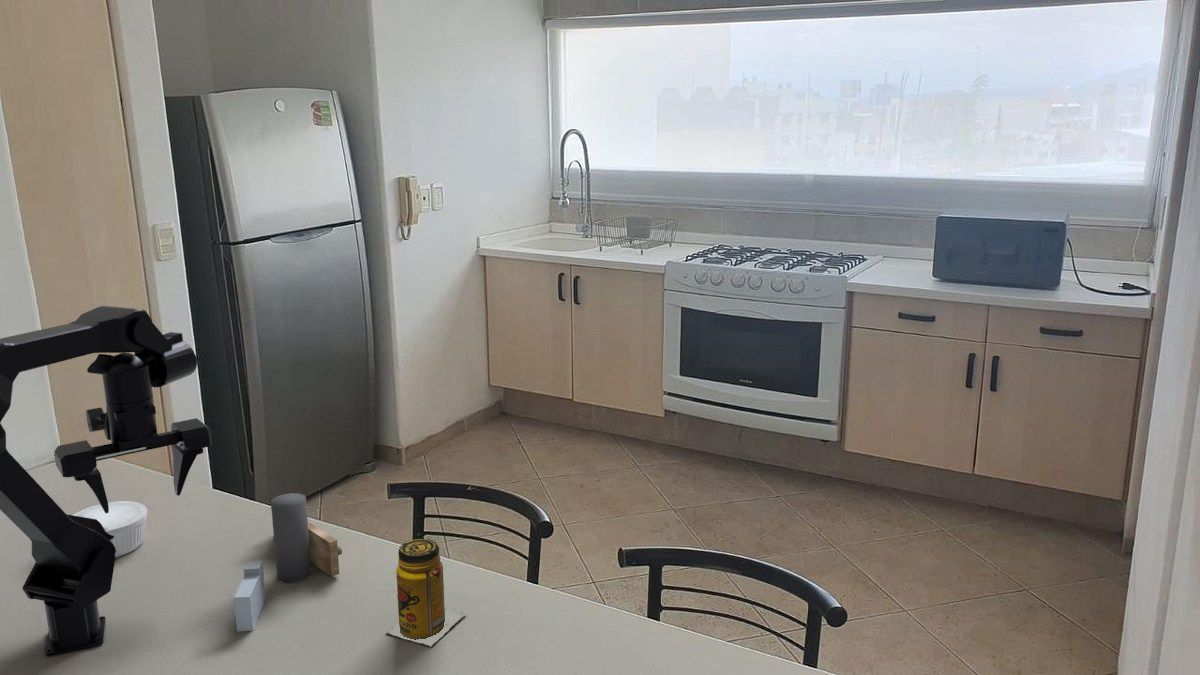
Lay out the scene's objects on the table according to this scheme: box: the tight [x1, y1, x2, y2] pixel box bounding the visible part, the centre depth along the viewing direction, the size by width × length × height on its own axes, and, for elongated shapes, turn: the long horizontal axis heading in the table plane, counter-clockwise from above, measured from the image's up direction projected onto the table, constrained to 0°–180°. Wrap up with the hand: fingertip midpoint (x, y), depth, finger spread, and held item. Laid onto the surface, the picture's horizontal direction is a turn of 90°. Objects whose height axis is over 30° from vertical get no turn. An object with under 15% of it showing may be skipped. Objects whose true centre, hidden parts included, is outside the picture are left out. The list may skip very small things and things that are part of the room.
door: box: [308, 521, 343, 578], centre depth 135 cm, size 14×2×6 cm, turn 46°
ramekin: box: [73, 500, 148, 558], centre depth 139 cm, size 11×11×5 cm
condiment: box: [395, 538, 467, 640], centre depth 118 cm, size 7×8×12 cm
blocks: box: [233, 560, 266, 632], centre depth 130 cm, size 28×2×6 cm, turn 8°
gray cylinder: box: [270, 492, 312, 584], centre depth 130 cm, size 5×5×12 cm
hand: (142, 503), depth 125 cm, fingers open, 9 cm apart
